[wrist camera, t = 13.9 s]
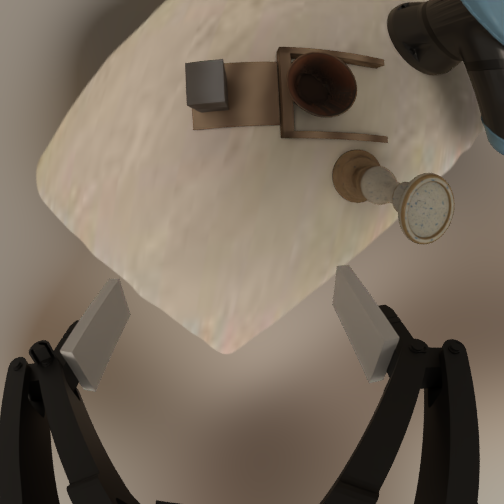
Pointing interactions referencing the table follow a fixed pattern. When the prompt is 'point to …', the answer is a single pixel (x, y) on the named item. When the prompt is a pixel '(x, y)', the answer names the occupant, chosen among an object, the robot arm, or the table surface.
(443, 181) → the candle holder
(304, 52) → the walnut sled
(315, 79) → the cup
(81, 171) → the table surface
